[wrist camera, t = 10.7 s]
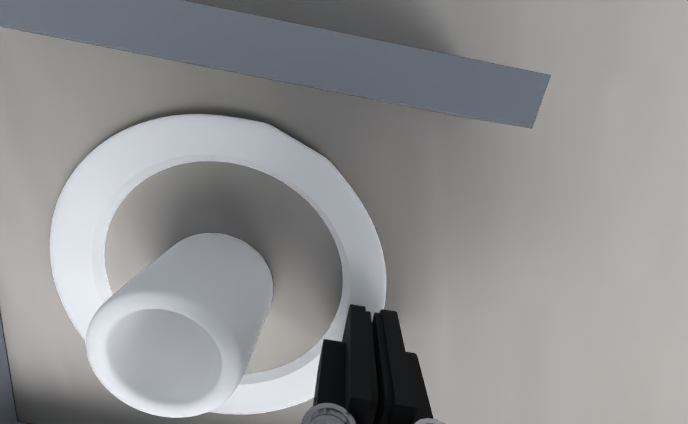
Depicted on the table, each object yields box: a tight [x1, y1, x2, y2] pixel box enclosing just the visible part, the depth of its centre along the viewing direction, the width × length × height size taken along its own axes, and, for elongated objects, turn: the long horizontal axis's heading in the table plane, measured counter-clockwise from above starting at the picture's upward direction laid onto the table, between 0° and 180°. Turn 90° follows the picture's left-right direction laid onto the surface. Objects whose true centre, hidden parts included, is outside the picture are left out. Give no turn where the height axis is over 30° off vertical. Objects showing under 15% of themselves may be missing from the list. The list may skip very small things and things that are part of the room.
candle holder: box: [49, 114, 386, 418], centre depth 11 cm, size 12×12×4 cm
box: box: [0, 0, 551, 424], centre depth 11 cm, size 16×18×4 cm
